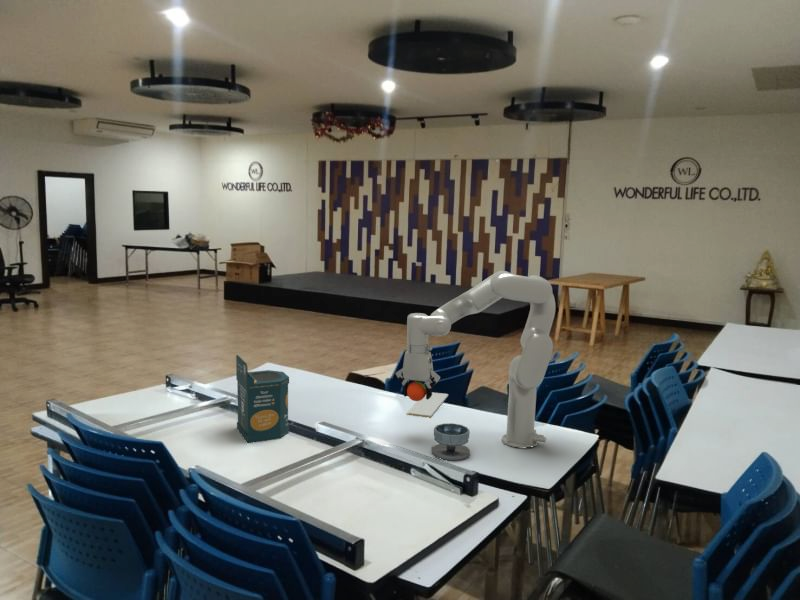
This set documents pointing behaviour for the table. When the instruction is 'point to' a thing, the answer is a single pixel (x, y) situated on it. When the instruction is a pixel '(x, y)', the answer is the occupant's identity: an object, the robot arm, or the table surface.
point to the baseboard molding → (427, 405)
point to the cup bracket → (451, 442)
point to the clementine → (416, 391)
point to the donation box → (261, 403)
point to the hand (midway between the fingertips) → (417, 396)
